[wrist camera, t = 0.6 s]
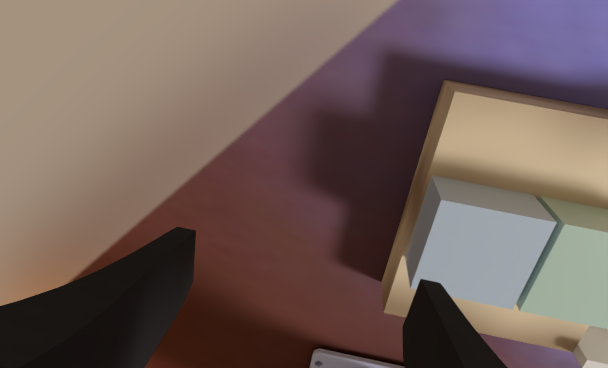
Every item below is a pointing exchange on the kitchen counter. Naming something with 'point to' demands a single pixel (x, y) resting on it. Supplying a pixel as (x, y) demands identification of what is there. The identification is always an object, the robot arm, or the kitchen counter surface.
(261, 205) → the kitchen counter surface
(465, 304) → the oak plate
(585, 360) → the box
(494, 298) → the tile
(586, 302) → the tile
